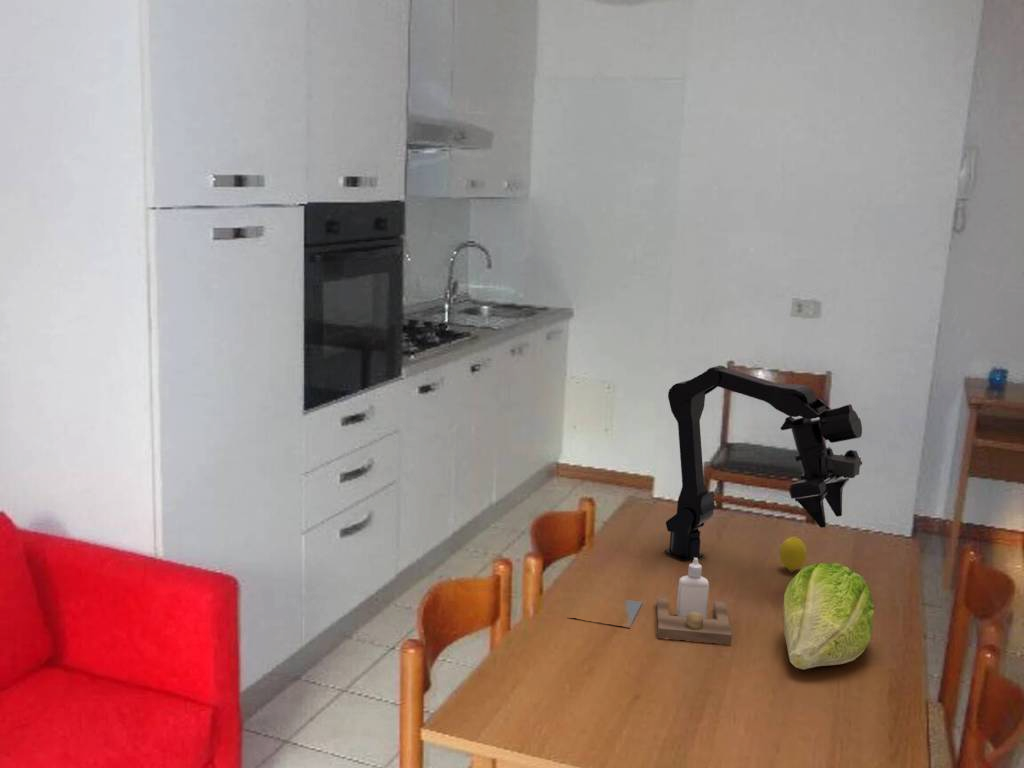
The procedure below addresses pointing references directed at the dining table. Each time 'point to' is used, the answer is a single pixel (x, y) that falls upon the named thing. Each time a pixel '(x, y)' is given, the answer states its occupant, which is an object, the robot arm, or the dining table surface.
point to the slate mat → (632, 609)
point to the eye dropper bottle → (693, 592)
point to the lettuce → (827, 616)
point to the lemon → (793, 553)
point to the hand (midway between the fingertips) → (831, 521)
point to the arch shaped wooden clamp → (694, 624)
